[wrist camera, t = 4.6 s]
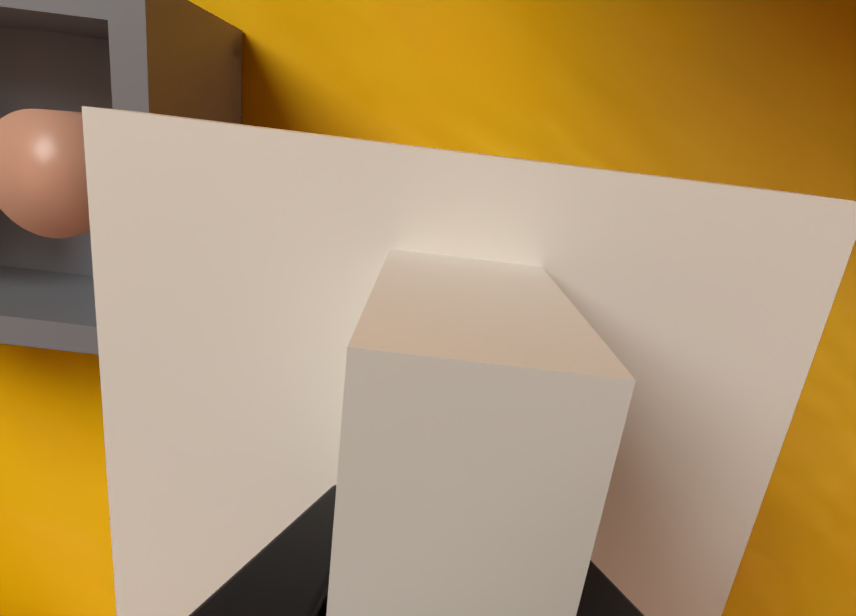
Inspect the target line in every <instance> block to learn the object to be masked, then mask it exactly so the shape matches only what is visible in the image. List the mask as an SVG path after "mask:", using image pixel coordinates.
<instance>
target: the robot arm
mask: <svg viewBox="0 0 856 616" xmlns="http://www.w3.org/2000/svg"><path fill="white" fill-rule="evenodd" d="M335 497H336V485H333V486H332V487H331V488H330V489H329V490H327V491H326V492H325V493H324V494H323V495H322V496H321V497H320V498H319V499H317V500H316V501H315V502H314V503H313V504H312V505H311V506H310V507H309V508H307V509H306V510H305V511H304V512H303V513H302V514H301V515H300V516H299V517H297V518H296V519H295V520H294V521H293V522H292V523H291V524H290V525H289V526H287V527H286V528H285V529H284V530H283V531H282V532H281V533H280V534H279V535H278V536H276V537H275V538H274V539H273V540H272V541H271V542H270V543H269V544H268V545H266V546H265V547H264V548H263V549H262V550H261V551H260V552H259V553H258V554H256V555H255V556H254V557H253V558H252V559H251V560H250V561H249V562H248V563H246V564H245V565H244V566H243V567H242V568H241V569H240V570H239V571H238V572H236V573H235V574H234V575H233V576H232V577H231V578H230V579H229V580H228V581H226V582H225V583H224V584H223V585H222V586H221V587H220V588H219V589H218V590H216V591H215V592H214V593H213V594H212V595H211V596H210V597H209V598H208V599H206V600H205V601H204V602H203V603H202V604H201V605H200V606H199V607H198V608H196V609H195V610H194V611H193V612H192V613H191V614H190V615H189V616H326V612H327V599H328V586H329V574H330V561H331V548H332V535H333V523H334V510H335ZM576 616H644V615H643V614H642V613H641V612H640V611H639V609H638V608H637V607H636V606H635V605H634V604H633V603H632V602H631V601H630V600H629V599H628V598H627V597H626V596H625V595H624V594H623V593H622V592H621V591H620V590H619V589H618V588H617V587H616V586H615V585H614V584H613V583H612V581H611V580H610V579H609V578H608V577H607V576H606V575H605V574H604V573H603V572H602V571H601V570H600V569H599V568H598V567H597V566H596V565H595V564H594V563H593V562H592V561H591V560H590V563H589V567H588V571H587V575H586V579H585V583H584V587H583V590H582V594H581V598H580V602H579V606H578V610H577V614H576Z"/></svg>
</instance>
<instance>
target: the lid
mask: <svg viewBox="0 0 856 616" xmlns="http://www.w3.org/2000/svg"><path fill="white" fill-rule="evenodd" d="M82 121H83V135H84V150H85V164H86V179H87V193H88V207H89V222H90V236H91V251H92V265H93V280H94V294H95V309H96V323H97V338H98V352H99V367H100V381H101V396H102V410H103V425H104V439H105V454H106V468H107V483H108V497H109V512H110V526H111V541H112V555H113V570H114V584H115V598H116V613H117V616H189V615H190V614H191V613H192V612H193V611H194V610H195V609H196V608H198V607H199V606H200V605H201V604H202V603H203V602H204V601H205V600H206V599H208V598H209V597H210V596H211V595H212V594H213V593H214V592H215V591H216V590H218V589H219V588H220V587H221V586H222V585H223V584H224V583H225V582H226V581H228V580H229V579H230V578H231V577H232V576H233V575H234V574H235V573H236V572H238V571H239V570H240V569H241V568H242V567H243V566H244V565H245V564H246V563H248V562H249V561H250V560H251V559H252V558H253V557H254V556H255V555H256V554H258V553H259V552H260V551H261V550H262V549H263V548H264V547H265V546H266V545H268V544H269V543H270V542H271V541H272V540H273V539H274V538H275V537H276V536H278V535H279V534H280V533H281V532H282V531H283V530H284V529H285V528H286V527H287V526H289V525H290V524H291V523H292V522H293V521H294V520H295V519H296V518H297V517H299V516H300V515H301V514H302V513H303V512H304V511H305V510H306V509H307V508H309V507H310V506H311V505H312V504H313V503H314V502H315V501H316V500H317V499H319V498H320V497H321V496H322V495H323V494H324V493H325V492H326V491H327V490H329V489H330V488H331V487H332V486H333V485H336V497H335V510H334V523H333V535H332V548H331V561H330V574H329V586H328V599H327V612H326V616H576V614H577V610H578V606H579V602H580V598H581V594H582V590H583V587H584V583H585V579H586V575H587V571H588V567H589V563H590V560H591V561H592V562H593V563H594V564H595V565H596V566H597V567H598V568H599V569H600V570H601V571H602V572H603V573H604V574H605V575H606V576H607V577H608V578H609V579H610V580H611V581H612V583H613V584H614V585H615V586H616V587H617V588H618V589H619V590H620V591H621V592H622V593H623V594H624V595H625V596H626V597H627V598H628V599H629V600H630V601H631V602H632V603H633V604H634V605H635V606H636V607H637V608H638V609H639V611H640V612H641V613H642V614H643V615H644V616H721V615H722V613H723V610H724V607H725V604H726V601H727V599H728V596H729V593H730V590H731V587H732V585H733V582H734V579H735V576H736V573H737V571H738V568H739V565H740V562H741V559H742V557H743V554H744V551H745V548H746V545H747V543H748V540H749V537H750V534H751V531H752V529H753V526H754V523H755V520H756V517H757V515H758V512H759V509H760V506H761V503H762V501H763V498H764V495H765V492H766V489H767V487H768V484H769V481H770V478H771V475H772V472H773V470H774V467H775V464H776V461H777V458H778V456H779V453H780V450H781V447H782V444H783V442H784V439H785V436H786V433H787V430H788V428H789V425H790V422H791V419H792V416H793V414H794V411H795V408H796V405H797V402H798V400H799V397H800V394H801V391H802V388H803V386H804V383H805V380H806V377H807V374H808V372H809V369H810V366H811V363H812V360H813V358H814V355H815V352H816V349H817V346H818V344H819V341H820V338H821V335H822V332H823V330H824V327H825V324H826V321H827V318H828V316H829V313H830V310H831V307H832V304H833V302H834V299H835V296H836V293H837V290H838V287H839V285H840V282H841V279H842V276H843V273H844V271H845V268H846V265H847V262H848V259H849V257H850V254H851V251H852V248H853V245H854V243H855V240H856V201H852V200H846V199H839V198H832V197H825V196H818V195H811V194H804V193H796V192H787V191H779V190H771V189H763V188H755V187H747V186H739V185H731V184H723V183H714V182H706V181H698V180H690V179H682V178H674V177H666V176H658V175H649V174H641V173H633V172H625V171H617V170H609V169H601V168H593V167H584V166H576V165H568V164H560V163H552V162H544V161H536V160H528V159H519V158H511V157H503V156H495V155H487V154H479V153H471V152H463V151H455V150H446V149H438V148H430V147H422V146H414V145H406V144H398V143H390V142H381V141H373V140H365V139H357V138H349V137H341V136H333V135H325V134H316V133H308V132H300V131H292V130H284V129H276V128H268V127H260V126H251V125H243V124H235V123H227V122H219V121H211V120H203V119H195V118H186V117H178V116H170V115H162V114H154V113H146V112H138V111H128V110H118V109H108V108H97V107H87V106H82Z"/></svg>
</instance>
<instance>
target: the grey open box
mask: <svg viewBox="0 0 856 616" xmlns="http://www.w3.org/2000/svg"><path fill="white" fill-rule="evenodd" d="M241 95H242V30H240V29H238V28H237V27H235V26H233V25H231V24H229V23H228V22H226V21H224V20H222V19H220V18H219V17H217V16H215V15H213V14H211V13H210V12H208V11H206V10H204V9H202V8H201V7H199V6H197V5H195V4H193V3H192V2H190V1H188V0H0V343H1V344H10V345H19V346H27V347H36V348H45V349H53V350H62V351H71V352H79V353H88V354H97V355H99V352H98V338H97V323H96V309H95V294H94V280H93V265H92V251H91V236H90V222H89V207H88V193H87V179H86V164H85V150H84V135H83V121H82V106H87V107H97V108H108V109H118V110H128V111H138V112H146V113H154V114H162V115H170V116H178V117H186V118H195V119H203V120H211V121H219V122H227V123H235V124H241Z"/></svg>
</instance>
